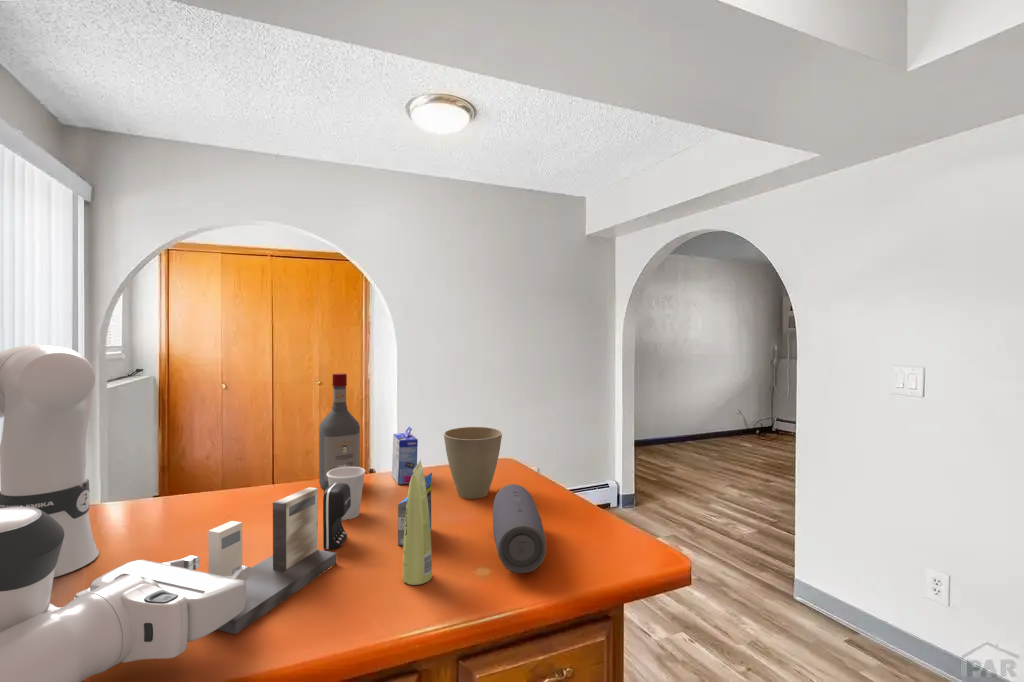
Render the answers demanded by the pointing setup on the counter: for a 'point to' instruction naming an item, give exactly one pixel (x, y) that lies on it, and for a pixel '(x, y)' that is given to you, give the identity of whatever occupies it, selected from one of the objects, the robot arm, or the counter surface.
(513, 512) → the bluetooth speaker
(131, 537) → the counter surface
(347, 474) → the dixie cup
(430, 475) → the label tape cartridge
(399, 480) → the ink cartridge box
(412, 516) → the tube
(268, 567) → the ticket holder
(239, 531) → the white tall block
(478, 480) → the plant pot
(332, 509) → the battery charger
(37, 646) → the robot arm
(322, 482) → the liquor
